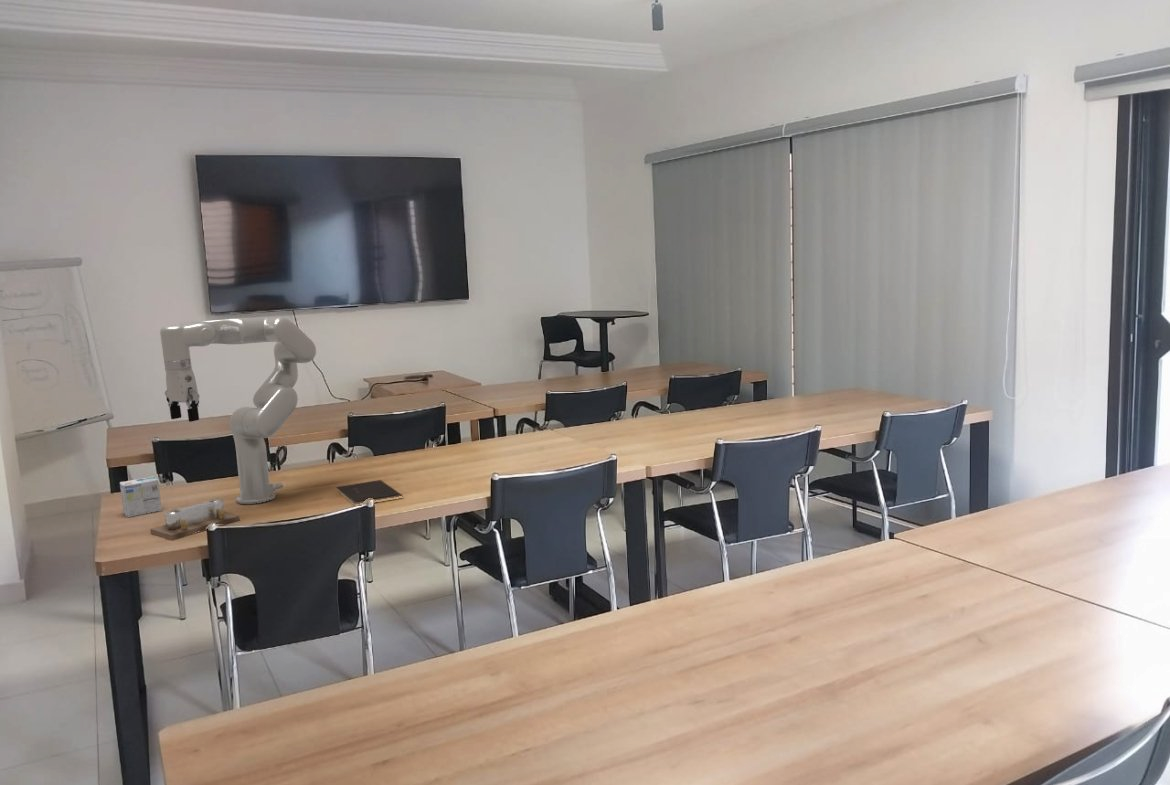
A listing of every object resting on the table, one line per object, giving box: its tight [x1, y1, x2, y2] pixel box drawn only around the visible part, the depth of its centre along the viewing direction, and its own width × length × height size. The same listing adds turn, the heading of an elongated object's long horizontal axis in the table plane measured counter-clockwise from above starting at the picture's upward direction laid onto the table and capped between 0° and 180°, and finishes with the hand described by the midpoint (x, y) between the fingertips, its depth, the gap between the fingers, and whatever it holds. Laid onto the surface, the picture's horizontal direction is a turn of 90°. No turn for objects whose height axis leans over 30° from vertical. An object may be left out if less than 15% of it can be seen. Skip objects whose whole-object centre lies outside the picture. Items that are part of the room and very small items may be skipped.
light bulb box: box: [119, 475, 163, 518], centre depth 288 cm, size 11×7×11 cm, turn 129°
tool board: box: [150, 509, 241, 541], centre depth 270 cm, size 22×12×4 cm, turn 144°
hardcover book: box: [336, 479, 403, 505], centre depth 299 cm, size 16×23×2 cm
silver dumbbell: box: [164, 498, 225, 530], centre depth 270 cm, size 18×4×5 cm, turn 143°
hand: (185, 419), depth 276 cm, fingers open, 9 cm apart
